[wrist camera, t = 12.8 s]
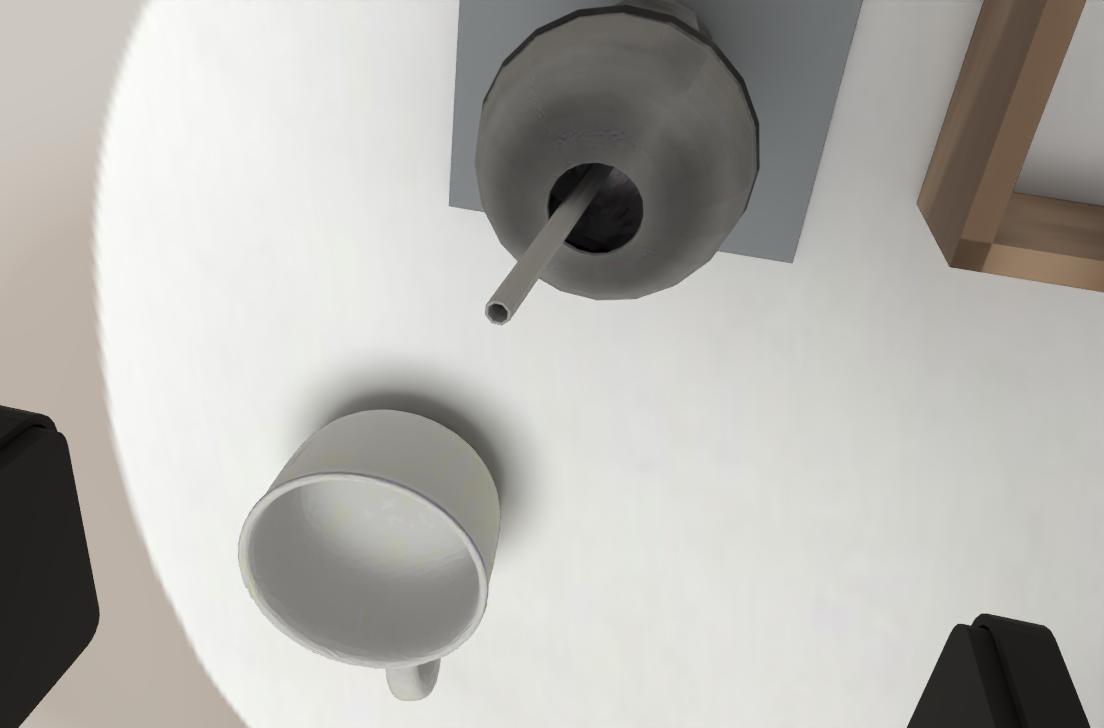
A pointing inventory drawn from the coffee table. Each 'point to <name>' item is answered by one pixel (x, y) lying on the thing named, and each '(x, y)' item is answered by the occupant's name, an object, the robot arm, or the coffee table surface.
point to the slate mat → (753, 49)
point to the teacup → (376, 545)
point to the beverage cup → (614, 153)
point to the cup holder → (1009, 155)
